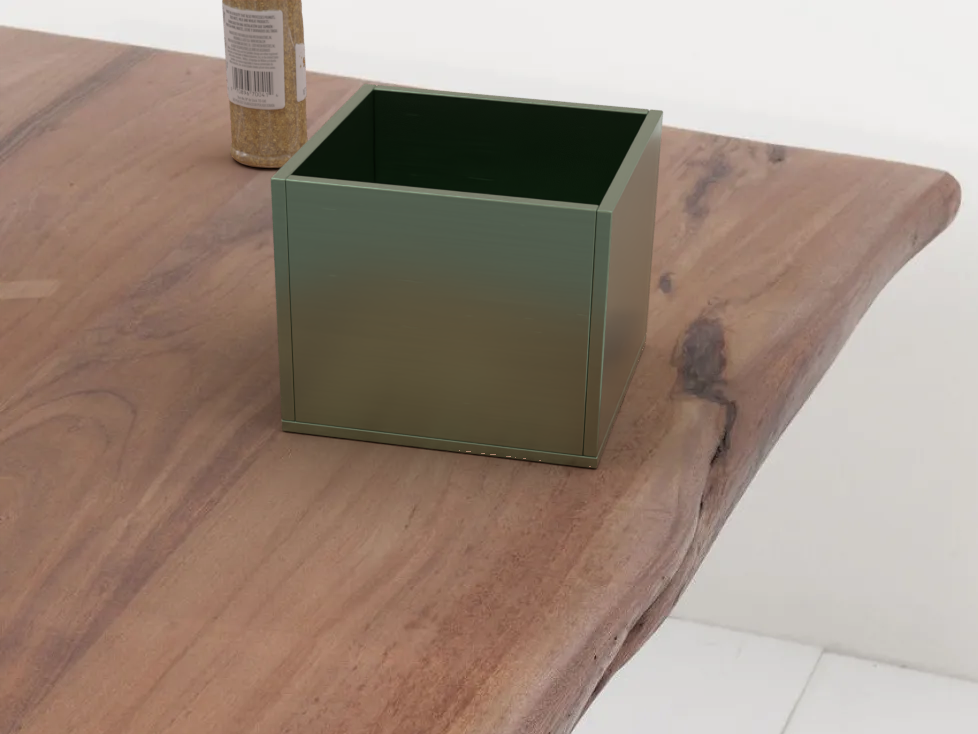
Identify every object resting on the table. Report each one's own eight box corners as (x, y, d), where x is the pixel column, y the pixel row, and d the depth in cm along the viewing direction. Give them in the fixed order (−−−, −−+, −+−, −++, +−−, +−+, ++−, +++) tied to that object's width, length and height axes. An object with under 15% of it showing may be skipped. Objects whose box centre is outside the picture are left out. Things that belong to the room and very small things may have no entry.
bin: (281, 431, 78) (269, 177, 72) (367, 312, 88) (363, 83, 82) (596, 469, 76) (612, 211, 70) (646, 343, 86) (663, 110, 80)
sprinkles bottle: (326, 156, 107) (319, -101, 99) (273, 176, 104) (261, -87, 96) (265, 140, 109) (254, -113, 101) (211, 159, 106) (195, -100, 98)
